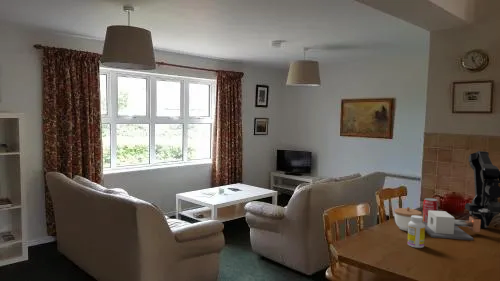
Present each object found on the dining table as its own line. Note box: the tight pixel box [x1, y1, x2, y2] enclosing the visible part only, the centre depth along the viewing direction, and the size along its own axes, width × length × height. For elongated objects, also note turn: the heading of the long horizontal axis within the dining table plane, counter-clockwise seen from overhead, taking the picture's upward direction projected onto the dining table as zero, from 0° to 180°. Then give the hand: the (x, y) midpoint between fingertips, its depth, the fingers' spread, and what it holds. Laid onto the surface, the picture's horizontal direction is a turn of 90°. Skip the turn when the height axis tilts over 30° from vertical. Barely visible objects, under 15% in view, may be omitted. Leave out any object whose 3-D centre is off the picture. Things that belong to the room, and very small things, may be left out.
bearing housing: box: [424, 210, 474, 241], centre depth 178 cm, size 20×18×9 cm
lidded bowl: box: [394, 206, 423, 232], centre depth 182 cm, size 13×13×11 cm
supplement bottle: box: [407, 215, 426, 249], centre depth 158 cm, size 7×7×13 cm
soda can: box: [422, 197, 439, 224], centre depth 193 cm, size 7×7×13 cm
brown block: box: [454, 215, 481, 233], centre depth 177 cm, size 5×14×6 cm, turn 81°
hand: (487, 225), depth 175 cm, fingers closed
